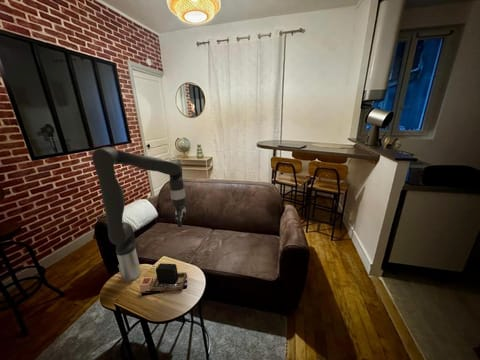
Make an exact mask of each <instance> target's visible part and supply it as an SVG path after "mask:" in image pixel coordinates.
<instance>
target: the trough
mask: <svg viewBox="0 0 480 360" xmlns="http://www.w3.org/2000/svg"><path fill="white" fill-rule="evenodd" d="M187 278H188V273H187V272H186V271H185V272H178V279H177V281H176V283H175V284H177V283H181V282H182V283H181V285H180V286H171V287H157V286H160V285H168V284H161V283H158V279H157V276H155V279H153V280H154V282H153V284H152V286H151V288H150V290H151V291H160V292H159V293H162V292H163V293H167V292H168V293H169V292H183V289H184V286H185V283H186V280H187ZM184 282H185V283H184ZM183 285H184V286H183ZM155 286H156V287H155Z"/></svg>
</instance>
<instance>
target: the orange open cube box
mask: <svg viewBox="0 0 480 360" xmlns="http://www.w3.org/2000/svg"><path fill="white" fill-rule="evenodd" d="M154 280H155V279H154V277H153V276H148V277H147V276H146V277H142V279H141V282H140V283H139V290H140V292H141V293H146V292H145V291H150V288H151V286H152V284H153V282H154Z"/></svg>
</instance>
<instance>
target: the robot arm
mask: <svg viewBox="0 0 480 360" xmlns="http://www.w3.org/2000/svg"><path fill="white" fill-rule="evenodd" d="M91 160H92V163H93V167H94V169H95V171H96V175H97V177H98V182H99V186H100V192H101V198H102V202H103V203H102V204H103V206H104V212H105V216H106V222H107V236H108V239H109V241H110V243H112V245H115V246H116V248H115V252H116V253H115V254H116V256H117V260H118V263H119V264H118V265H117V268H118V270H119V274H120V278H121V280H124V281H126V282H130V281H133V280H135V279H138V278H139V276H140V275H141V273H142V270H141V266H140V262H139V261H140V260H139V258H138V253H137V250H136V236H135V232H134V229H133V226H132V225H131V224H130V222H129V223H128V222H126V221H123V218H124V217H123V215H124V211H125V204H126V201H125V200H126V199H125V195H124V194H125V193H124V190H123V187H122V186H121V184H120V183H119V181H118V180H117V178H116V173H115V165H127V166H132V167H136V168H138V169H140V170H145V171H151V172H157V173H161V174H164V175H169V188H170V189H169V190H170V199H171V205H172V206H173V207H174V208H175V210H174V211H173V217H174V222H176V223H177V228H182V227H183V221H182V220H186V219H187V214H186V213H187V211H188V209H187V197H186V190H185V186H184V181H183V180H184V179H183V167H182V164H181V161H179V160H177V159H172V160H170V161H168V160H163V159H162V158H159V157H154V156H148V155H143V154H142V155H141V154H137V153H130V152H127V151H124V150H120V149H117V148H115V147H112V146H111V147H110V146H103V147H100V148H97V149H95V150H94V151H93V152H92V156H91Z"/></svg>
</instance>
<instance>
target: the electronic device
mask: <svg viewBox="0 0 480 360" xmlns="http://www.w3.org/2000/svg"><path fill="white" fill-rule="evenodd" d="M155 273H156V277H157V279H158V283H161V284H175V283H176V281H177V279H178V273H179V272H178V267H177V264H176V263H163V262H162V263H159V264H158V265H157V266H156V268H155Z"/></svg>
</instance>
